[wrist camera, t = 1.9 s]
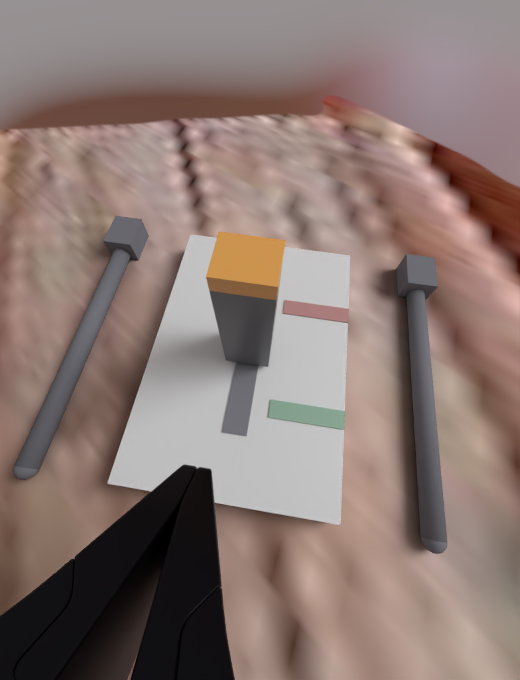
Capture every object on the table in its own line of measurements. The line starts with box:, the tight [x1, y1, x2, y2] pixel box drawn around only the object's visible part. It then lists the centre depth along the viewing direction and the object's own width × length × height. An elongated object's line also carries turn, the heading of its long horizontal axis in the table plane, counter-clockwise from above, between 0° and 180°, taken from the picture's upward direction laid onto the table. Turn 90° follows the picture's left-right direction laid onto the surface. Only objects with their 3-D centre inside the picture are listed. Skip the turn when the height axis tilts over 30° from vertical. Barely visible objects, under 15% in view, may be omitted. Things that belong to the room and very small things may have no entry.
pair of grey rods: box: [13, 216, 447, 554], centre depth 23 cm, size 22×28×2 cm
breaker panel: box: [107, 235, 350, 525], centre depth 23 cm, size 20×14×2 cm
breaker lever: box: [206, 232, 285, 367], centre depth 17 cm, size 2×3×10 cm
